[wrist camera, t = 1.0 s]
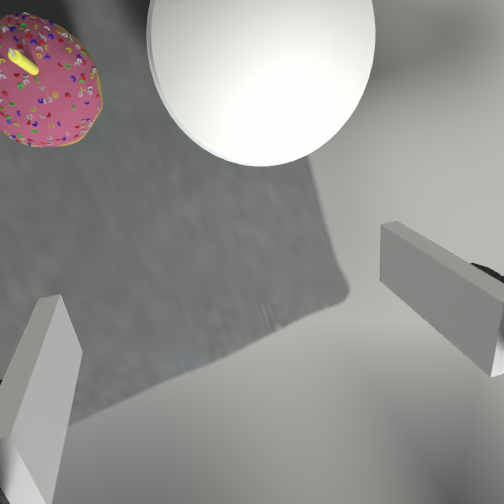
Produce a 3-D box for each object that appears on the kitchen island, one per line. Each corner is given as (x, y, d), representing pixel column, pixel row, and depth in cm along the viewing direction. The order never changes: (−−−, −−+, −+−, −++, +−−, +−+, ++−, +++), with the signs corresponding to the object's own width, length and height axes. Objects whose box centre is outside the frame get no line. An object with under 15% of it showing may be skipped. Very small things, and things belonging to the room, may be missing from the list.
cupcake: (1, 3, 30) (-84, -36, 19) (119, 49, 33) (103, 38, 22) (-15, 119, 32) (-98, 142, 22) (96, 153, 35) (71, 187, 24)
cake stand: (124, 114, 34) (117, 123, 28) (183, -112, 29) (192, -164, 23) (295, 175, 40) (322, 195, 34) (369, -7, 35) (418, -25, 29)
